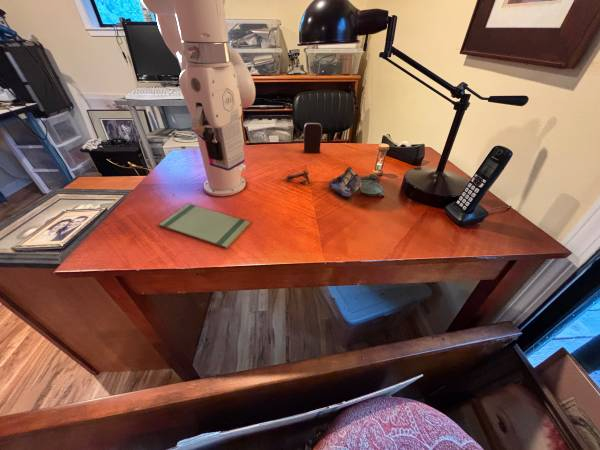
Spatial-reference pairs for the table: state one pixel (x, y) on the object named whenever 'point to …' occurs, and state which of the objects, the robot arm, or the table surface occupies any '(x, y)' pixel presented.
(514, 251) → the table surface
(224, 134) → the supplement box
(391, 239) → the table surface
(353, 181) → the snack package
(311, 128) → the battery charger
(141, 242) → the table surface
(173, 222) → the towel
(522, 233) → the table surface
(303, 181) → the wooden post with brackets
